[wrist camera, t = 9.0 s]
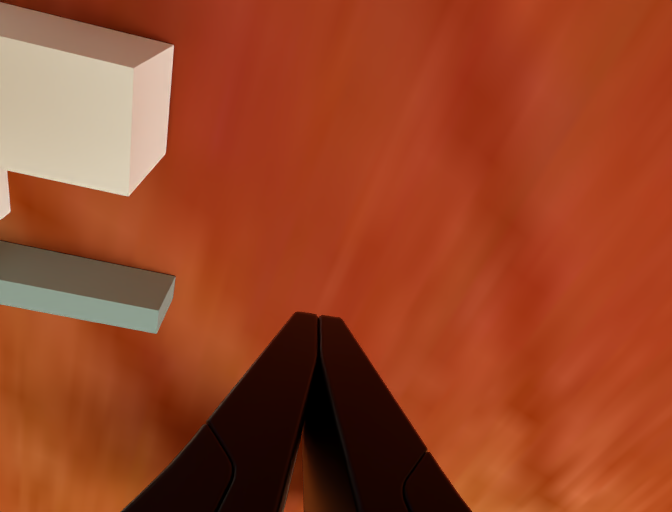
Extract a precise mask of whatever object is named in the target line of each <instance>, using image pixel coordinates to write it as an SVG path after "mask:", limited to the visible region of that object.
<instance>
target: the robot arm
mask: <svg viewBox="0 0 672 512" xmlns="http://www.w3.org/2000/svg"><path fill="white" fill-rule="evenodd" d="M302 430H303V433H302ZM301 435H302V461H303V502H304V512H472V511H471V510H470V508H469V507H468V506H467V504H466V503H465V502H464V501H463V499H462V498H461V497H460V495H459V494H458V492H457V491H456V490H455V488H454V487H453V485H452V484H451V482H450V481H449V480H448V478H447V477H446V475H445V474H444V472H443V471H442V470H441V468H440V467H439V465H438V463H437V462H436V460H435V459H434V457H433V456H432V454H431V453H430V452H427V447H426V446H425V444H424V443H423V441H422V440H421V438H420V436H419V435H418V433H417V432H416V430H415V429H414V427H413V426H412V424H411V423H410V421H409V420H408V418H407V417H406V415H405V414H404V412H403V411H402V409H401V408H400V406H399V405H398V403H397V402H396V400H395V399H394V397H393V395H392V394H391V392H390V391H389V389H388V388H387V386H386V385H385V383H384V382H383V380H382V379H381V377H380V376H379V374H378V373H377V371H376V370H375V368H374V367H373V365H372V364H371V362H370V361H369V359H368V358H367V356H366V354H365V353H364V351H363V350H362V348H361V347H360V345H359V344H358V342H357V341H356V339H355V338H354V336H353V335H352V333H351V332H350V330H349V329H348V327H347V326H346V324H345V323H344V321H343V320H342V319H341V318H339V317H332V316H325V315H321V316H319V318H318V316H317V315H316V314H312V313H305V312H295V313H294V314H293V315H292V316H291V318H290V319H289V320H288V321H287V323H286V324H285V325H284V326H283V328H282V329H281V330H280V331H279V332H278V334H277V335H276V336H275V337H274V339H273V340H272V341H271V342H270V344H269V345H268V346H267V347H266V348H265V350H264V351H263V352H262V353H261V355H260V356H259V357H258V358H257V359H256V361H255V362H254V363H253V364H252V366H251V367H250V368H249V369H248V371H247V372H246V373H245V374H244V375H243V377H242V378H241V379H240V380H239V382H238V383H237V384H236V385H235V387H234V388H233V389H232V390H231V391H230V393H229V394H228V395H227V396H226V398H225V399H224V400H223V401H222V403H221V404H220V405H219V406H218V407H217V409H216V410H215V411H214V412H213V414H212V415H211V416H210V417H209V419H208V420H207V421H206V424H204V425H203V426H202V427H201V428H200V429H199V430H198V432H197V433H196V434H195V435H194V437H193V438H192V439H191V440H190V441H189V443H188V444H187V445H186V446H185V447H184V448H183V449H182V451H181V452H180V453H179V454H178V455H177V456H176V457H175V459H174V460H173V461H172V462H171V463H170V464H169V465H168V466H167V467H166V468H165V469H164V470H163V471H162V472H161V473H160V474H159V475H158V476H157V477H156V478H155V479H154V480H153V481H152V482H151V483H150V484H149V485H148V486H147V487H146V488H145V489H144V490H143V491H142V492H141V493H140V494H139V495H138V496H137V497H136V498H135V499H134V500H133V501H131V502H130V503H129V504H128V505H127V506H126V507H125V508H124V509H123V510H122V511H121V512H284V507H285V503H286V499H287V495H288V490H289V486H290V482H291V478H292V474H293V469H294V465H295V461H296V457H297V453H298V448H299V444H300V439H301Z"/></svg>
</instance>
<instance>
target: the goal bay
mask: <svg viewBox="0 0 672 512" xmlns="http://www.w3.org/2000/svg"><path fill="white" fill-rule="evenodd" d="M174 284H175V276H171V275H166V274H161V273H157V272H152V271H147V270H142V269H137V268H132V267H127V266H122V265H117V264H112V263H107V262H102V261H98V260H93V259H88V258H83V257H78V256H73V255H68V254H63V253H58V252H53V251H48V250H43V249H39V248H34V247H29V246H24V245H19V244H14V243H9V242H4V241H0V304H2V305H7V306H12V307H18V308H23V309H28V310H34V311H39V312H44V313H50V314H55V315H60V316H65V317H71V318H76V319H81V320H87V321H92V322H97V323H102V324H108V325H113V326H118V327H124V328H129V329H134V330H139V331H145V332H150V333H155V334H157V332H158V330H159V327H160V325H161V323H162V321H163V319H164V316H165V314H166V312H167V310H168V308H169V306H170V303H171V301H172V299H173V293H174Z"/></svg>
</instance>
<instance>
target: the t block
mask: <svg viewBox="0 0 672 512" xmlns="http://www.w3.org/2000/svg"><path fill="white" fill-rule="evenodd" d="M173 52H174V45H172V44H168V43H164V42H160V41H156V40H152V39H148V38H144V37H140V36H136V35H132V34H128V33H124V32H119V31H115V30H111V29H107V28H103V27H99V26H95V25H91V24H87V23H83V22H79V21H75V20H71V19H67V18H63V17H59V16H55V15H51V14H47V13H43V12H38V11H34V10H30V9H26V8H22V7H18V6H14V5H10V4H6V3H2V2H0V220H1V219H2V218H3V217H5V216H6V215H7V214H8V213H10V212H11V211H10V199H9V187H8V176H7V170H8V171H12V172H17V173H22V174H26V175H31V176H36V177H40V178H45V179H50V180H54V181H59V182H64V183H68V184H73V185H77V186H82V187H87V188H91V189H96V190H101V191H105V192H110V193H115V194H119V195H124V196H129V195H130V194H131V193H132V192H133V191H134V190H135V189H136V187H137V186H138V185H139V184H140V183H141V182H142V180H143V179H144V178H145V177H146V176H147V175H148V174H149V172H150V171H151V170H152V169H153V168H154V167H155V165H156V164H157V163H158V162H159V161H160V160H161V159H162V157H163V156H164V155H165V154H166V144H167V131H168V118H169V105H170V91H171V78H172V65H173Z"/></svg>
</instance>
